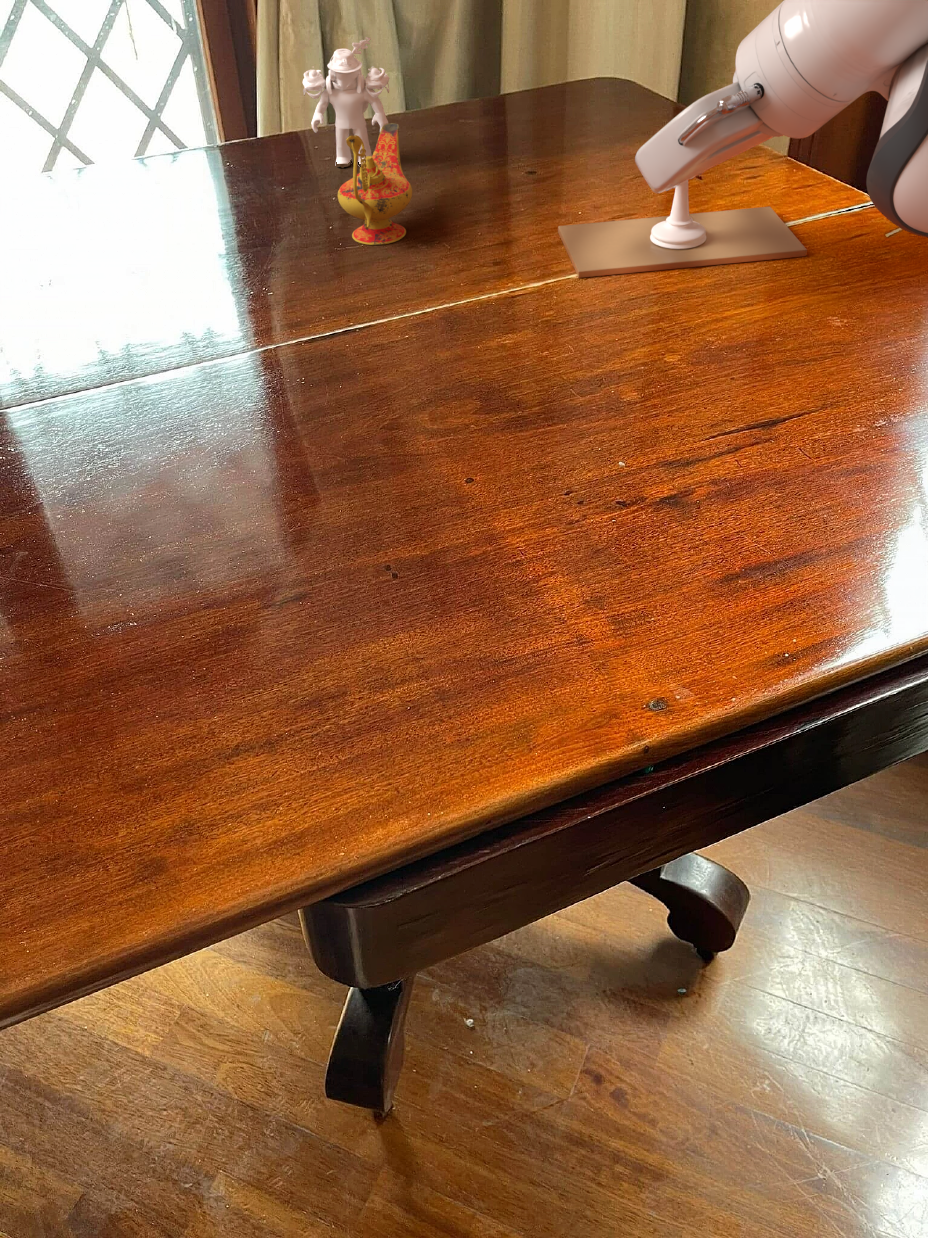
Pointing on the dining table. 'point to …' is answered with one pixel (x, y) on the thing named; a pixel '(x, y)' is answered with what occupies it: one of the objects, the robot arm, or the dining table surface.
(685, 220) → the chess piece
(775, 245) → the cork board
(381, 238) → the magic lamp
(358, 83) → the flower shoulder figurine
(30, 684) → the dining table surface
